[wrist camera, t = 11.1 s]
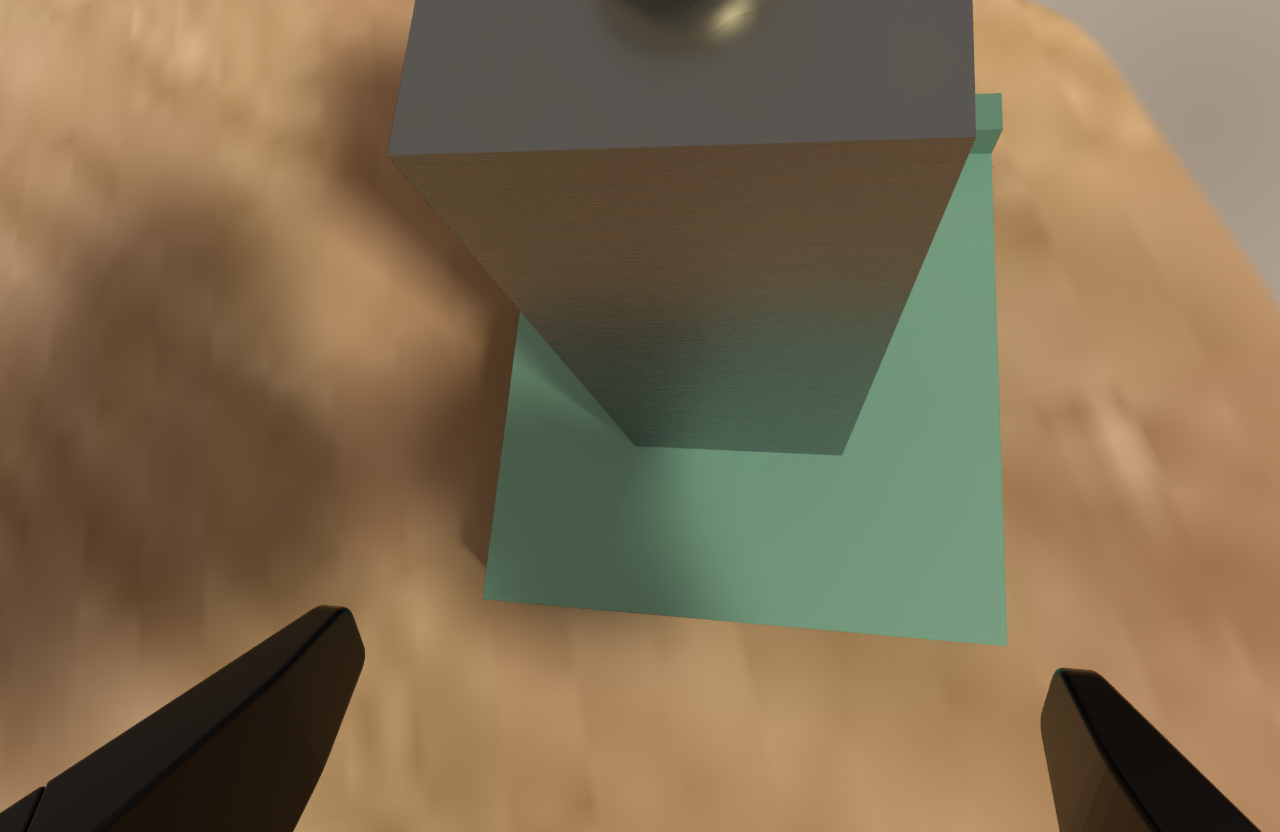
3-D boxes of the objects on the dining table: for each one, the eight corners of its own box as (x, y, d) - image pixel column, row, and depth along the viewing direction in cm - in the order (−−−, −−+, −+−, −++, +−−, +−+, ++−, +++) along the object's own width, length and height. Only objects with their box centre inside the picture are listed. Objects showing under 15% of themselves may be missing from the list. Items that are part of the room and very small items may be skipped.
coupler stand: (977, 641, 19) (1022, 648, 15) (516, 600, 21) (466, 598, 17) (966, 173, 22) (1001, 93, 18) (565, 182, 24) (531, 112, 21)
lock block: (841, 455, 18) (1006, 65, 5) (635, 446, 19) (337, 98, 6) (845, 261, 19) (985, -446, 6) (650, 261, 20) (429, -353, 7)
